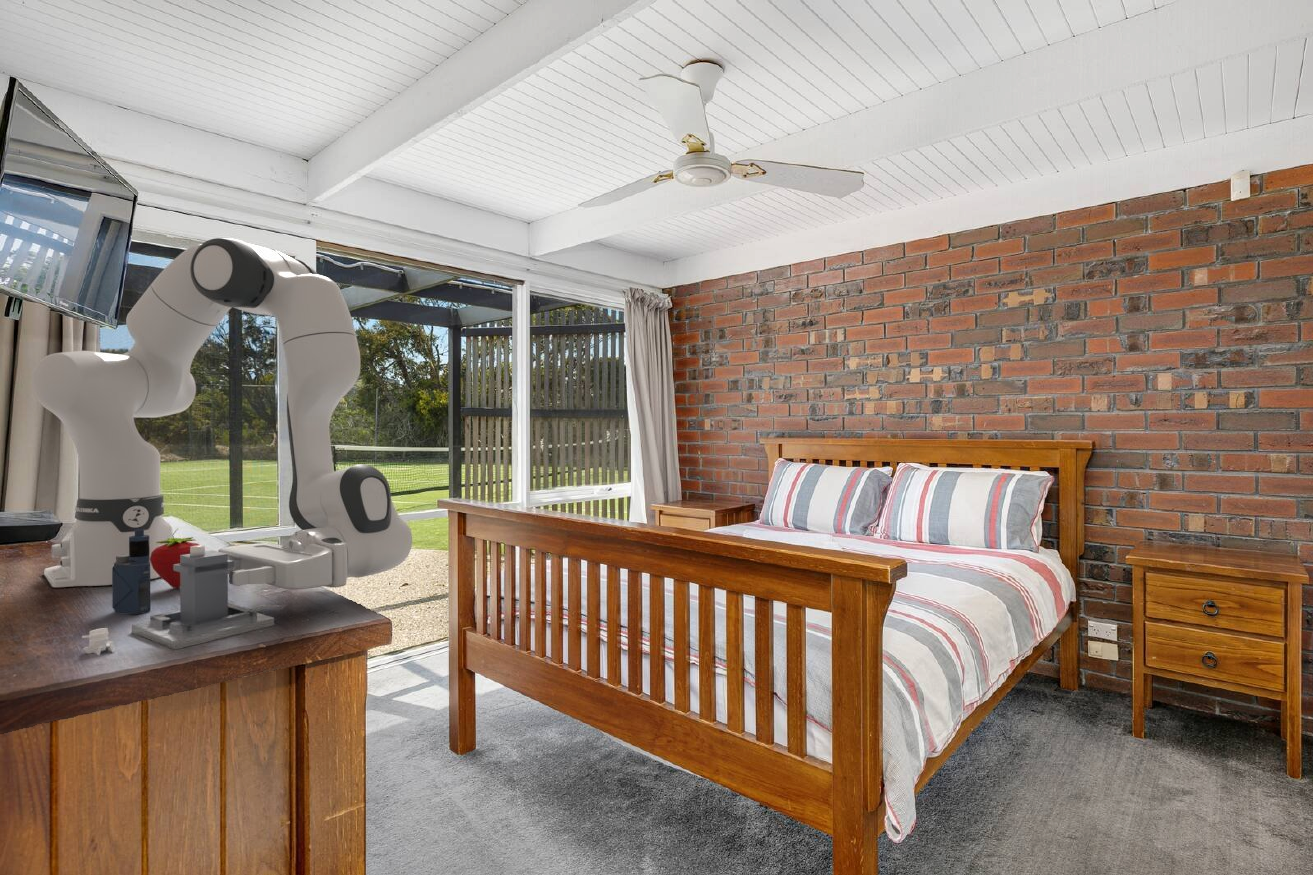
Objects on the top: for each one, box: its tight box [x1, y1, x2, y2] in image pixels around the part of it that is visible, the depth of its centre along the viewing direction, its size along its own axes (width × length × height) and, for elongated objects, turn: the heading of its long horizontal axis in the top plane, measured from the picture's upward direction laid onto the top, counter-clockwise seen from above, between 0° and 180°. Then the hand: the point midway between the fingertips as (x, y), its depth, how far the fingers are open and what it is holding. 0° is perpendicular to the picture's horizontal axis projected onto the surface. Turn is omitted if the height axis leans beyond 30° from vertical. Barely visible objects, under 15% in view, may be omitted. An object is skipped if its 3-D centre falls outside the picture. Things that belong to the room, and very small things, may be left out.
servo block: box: [173, 544, 234, 625], centre depth 91 cm, size 4×6×11 cm
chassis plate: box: [131, 602, 275, 651], centre depth 91 cm, size 12×12×2 cm
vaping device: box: [111, 529, 151, 615], centre depth 98 cm, size 3×5×12 cm, turn 79°
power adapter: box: [81, 627, 115, 656], centre depth 81 cm, size 3×3×3 cm
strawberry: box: [150, 528, 200, 589], centre depth 112 cm, size 6×8×10 cm
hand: (213, 574), depth 91 cm, fingers open, 8 cm apart
